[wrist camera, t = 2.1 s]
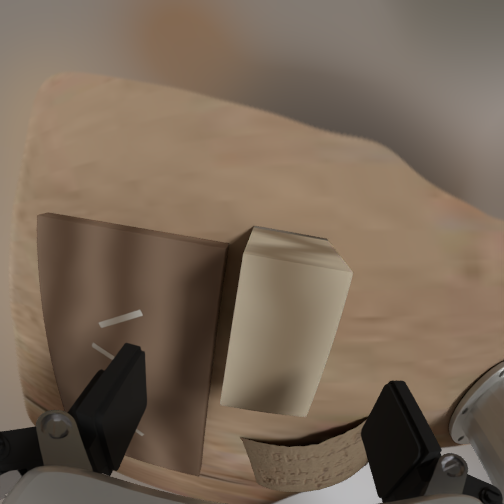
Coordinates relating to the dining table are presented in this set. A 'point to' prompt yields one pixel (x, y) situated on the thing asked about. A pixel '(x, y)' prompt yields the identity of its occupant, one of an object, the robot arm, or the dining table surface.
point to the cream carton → (283, 321)
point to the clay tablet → (307, 462)
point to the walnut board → (135, 322)
